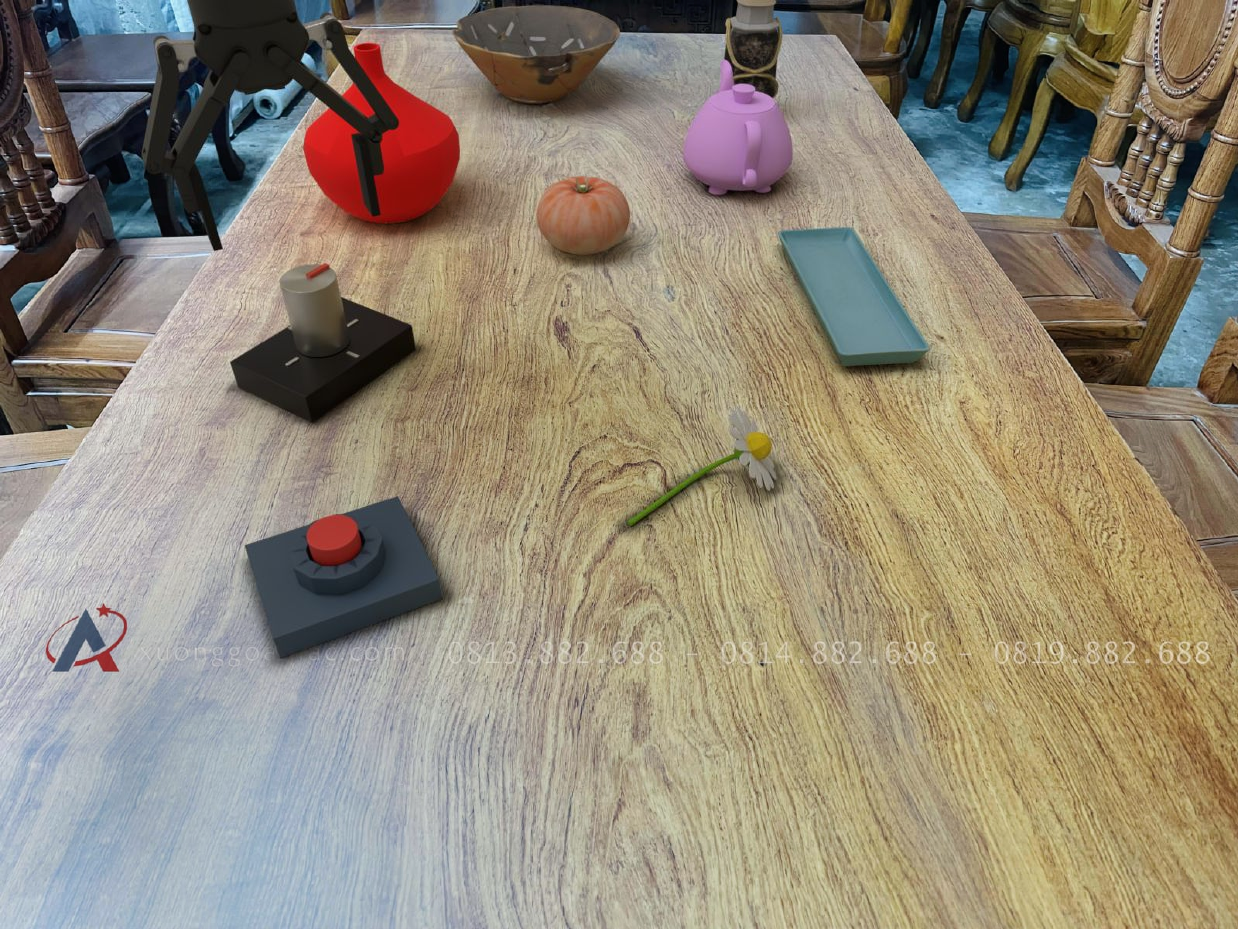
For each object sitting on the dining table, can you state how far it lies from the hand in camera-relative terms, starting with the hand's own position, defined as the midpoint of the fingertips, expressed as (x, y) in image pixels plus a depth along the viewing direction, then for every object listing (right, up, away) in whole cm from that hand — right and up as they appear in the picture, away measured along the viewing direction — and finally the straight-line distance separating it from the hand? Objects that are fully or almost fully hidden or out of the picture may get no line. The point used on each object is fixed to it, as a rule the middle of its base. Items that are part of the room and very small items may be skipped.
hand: (296, 226), depth 83 cm
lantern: (+47, +31, +59) cm, 82 cm away
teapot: (+43, +17, +43) cm, 64 cm away
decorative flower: (+36, -24, -3) cm, 44 cm away
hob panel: (0, -11, +10) cm, 15 cm away
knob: (0, -9, +8) cm, 12 cm away
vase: (0, +12, +36) cm, 38 cm away
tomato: (+24, +5, +29) cm, 38 cm away
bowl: (+16, +37, +65) cm, 77 cm away
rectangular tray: (+53, -3, +20) cm, 56 cm away
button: (+7, -27, -13) cm, 31 cm away
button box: (+7, -30, -11) cm, 32 cm away
